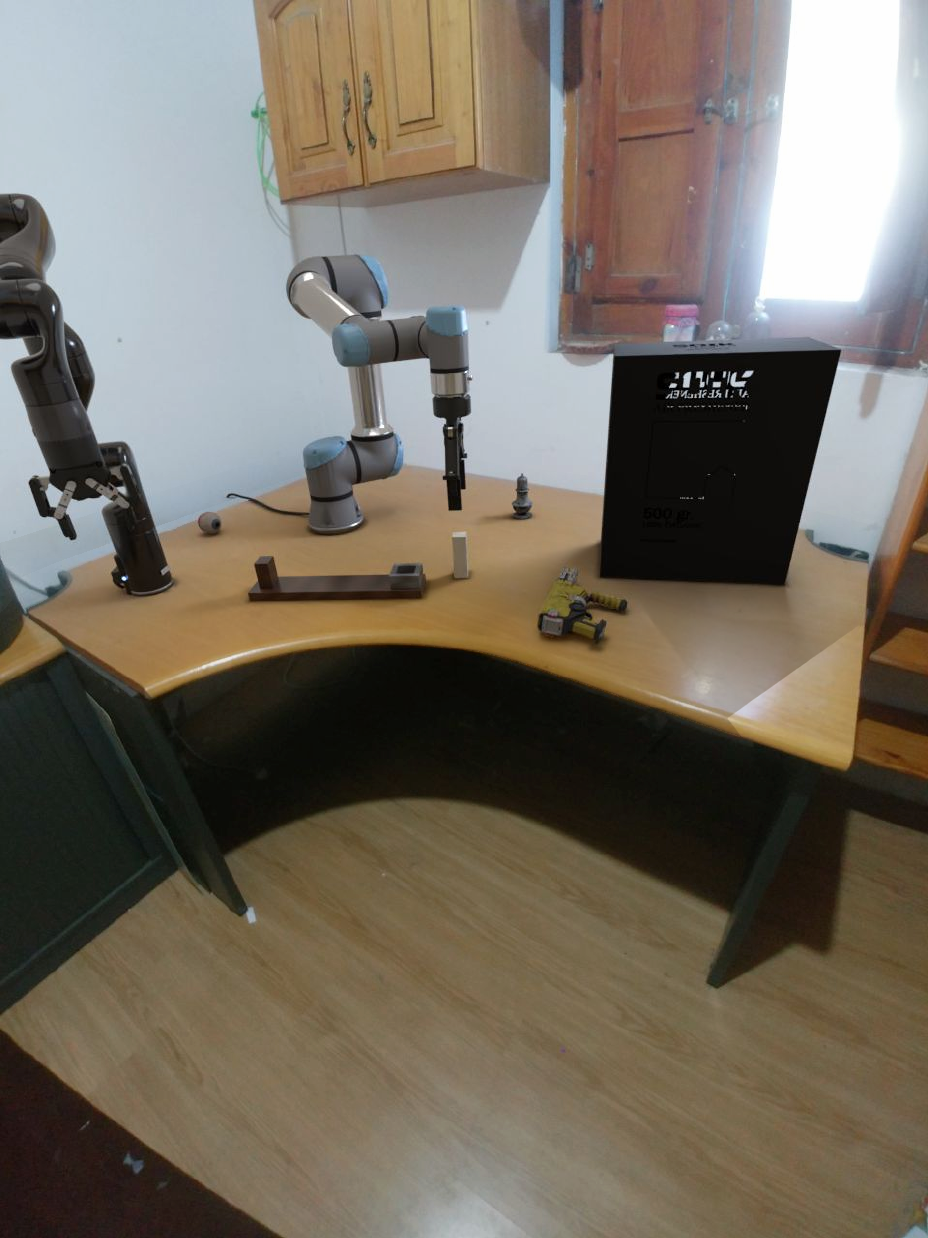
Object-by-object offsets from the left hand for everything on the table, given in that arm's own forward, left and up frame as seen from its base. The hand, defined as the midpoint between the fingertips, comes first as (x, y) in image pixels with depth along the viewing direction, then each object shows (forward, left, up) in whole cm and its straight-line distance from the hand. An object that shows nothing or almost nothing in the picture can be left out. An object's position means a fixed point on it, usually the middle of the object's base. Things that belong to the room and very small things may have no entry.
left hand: (103, 533), depth 98 cm
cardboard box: (+111, +21, -26) cm, 116 cm away
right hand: (+61, +25, -8) cm, 66 cm away
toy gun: (+83, +2, -26) cm, 87 cm away
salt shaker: (+81, +59, -26) cm, 104 cm away
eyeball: (-5, +67, -26) cm, 72 cm away
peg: (+60, +25, -26) cm, 71 cm away
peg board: (+33, +23, -26) cm, 48 cm away
